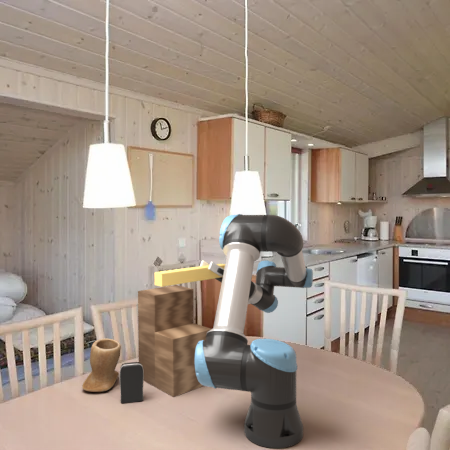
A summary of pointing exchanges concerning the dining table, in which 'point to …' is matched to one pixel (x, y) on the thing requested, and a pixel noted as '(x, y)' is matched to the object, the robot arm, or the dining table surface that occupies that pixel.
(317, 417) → the dining table surface
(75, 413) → the dining table surface
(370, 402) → the dining table surface
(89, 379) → the brown boot
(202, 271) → the bar
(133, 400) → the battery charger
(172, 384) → the step shelf
